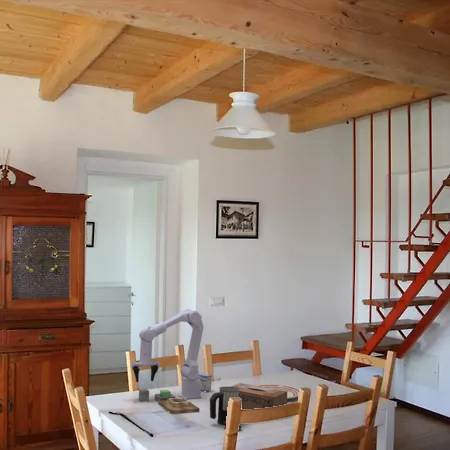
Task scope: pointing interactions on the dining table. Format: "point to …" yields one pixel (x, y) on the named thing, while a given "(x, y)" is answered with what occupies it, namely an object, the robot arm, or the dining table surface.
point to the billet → (143, 395)
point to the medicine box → (205, 382)
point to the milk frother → (222, 403)
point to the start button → (165, 393)
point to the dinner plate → (291, 390)
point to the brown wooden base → (178, 405)
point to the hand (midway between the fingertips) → (144, 381)
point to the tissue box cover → (260, 396)
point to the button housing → (160, 398)
